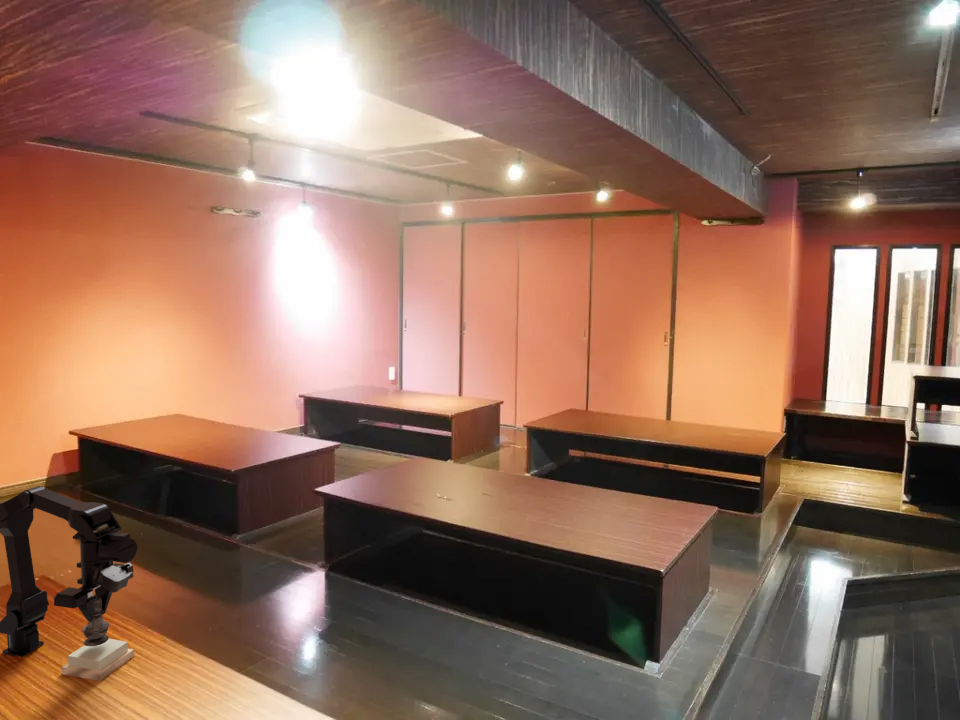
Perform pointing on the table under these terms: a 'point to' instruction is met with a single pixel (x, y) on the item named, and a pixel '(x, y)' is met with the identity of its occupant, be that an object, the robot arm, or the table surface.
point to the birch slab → (97, 674)
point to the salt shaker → (96, 626)
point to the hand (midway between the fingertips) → (96, 617)
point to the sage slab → (98, 655)
